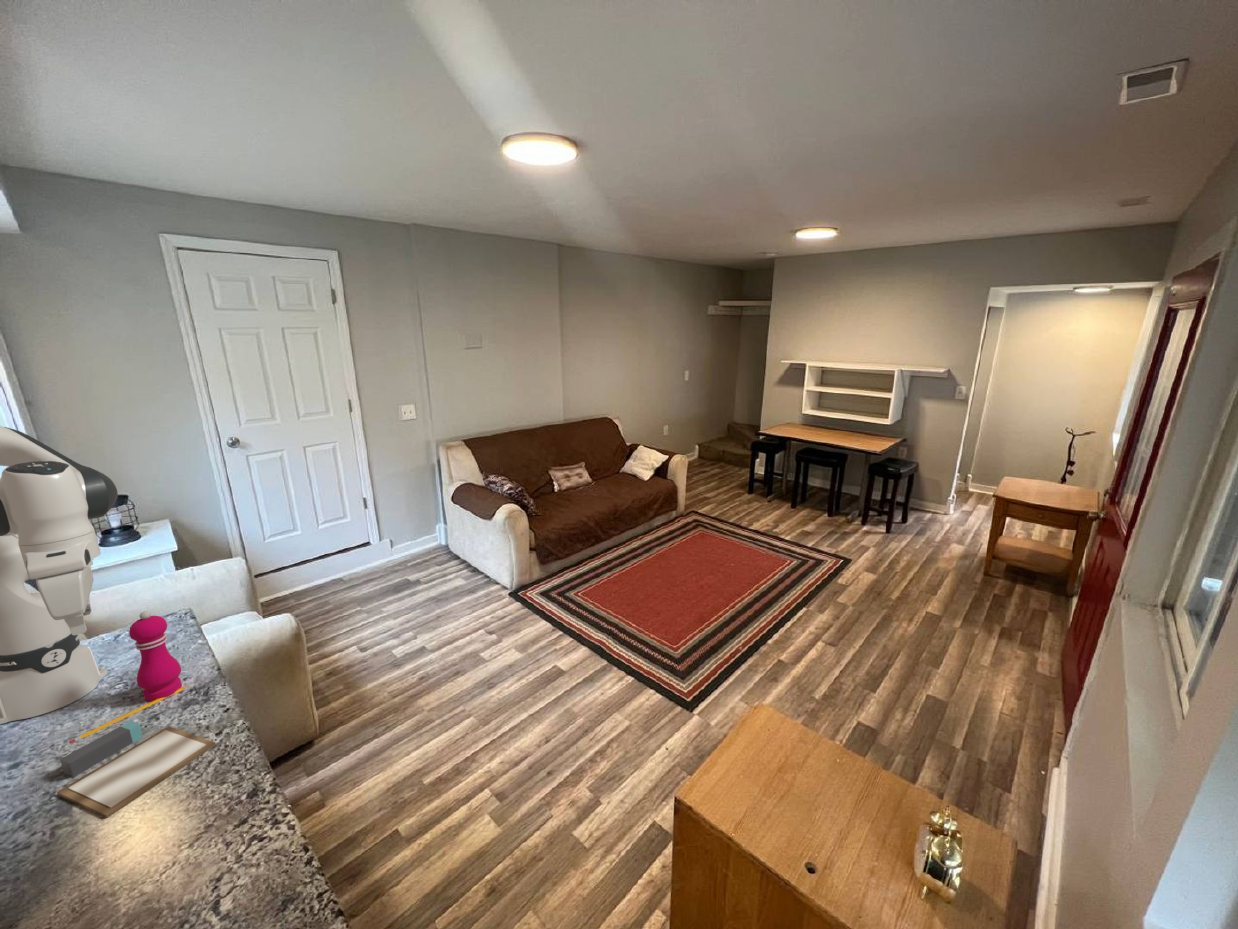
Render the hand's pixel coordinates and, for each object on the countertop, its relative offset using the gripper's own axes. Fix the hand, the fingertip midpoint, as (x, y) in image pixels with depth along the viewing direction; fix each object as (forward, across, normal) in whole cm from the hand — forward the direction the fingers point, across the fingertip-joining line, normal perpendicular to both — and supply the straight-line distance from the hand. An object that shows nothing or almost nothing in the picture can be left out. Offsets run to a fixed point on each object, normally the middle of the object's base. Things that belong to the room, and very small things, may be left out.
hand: (82, 623), depth 87 cm
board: (+26, +11, +3) cm, 29 cm away
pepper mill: (+26, -16, +7) cm, 31 cm away
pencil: (+27, -11, +2) cm, 29 cm away
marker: (+26, +1, -2) cm, 26 cm away
